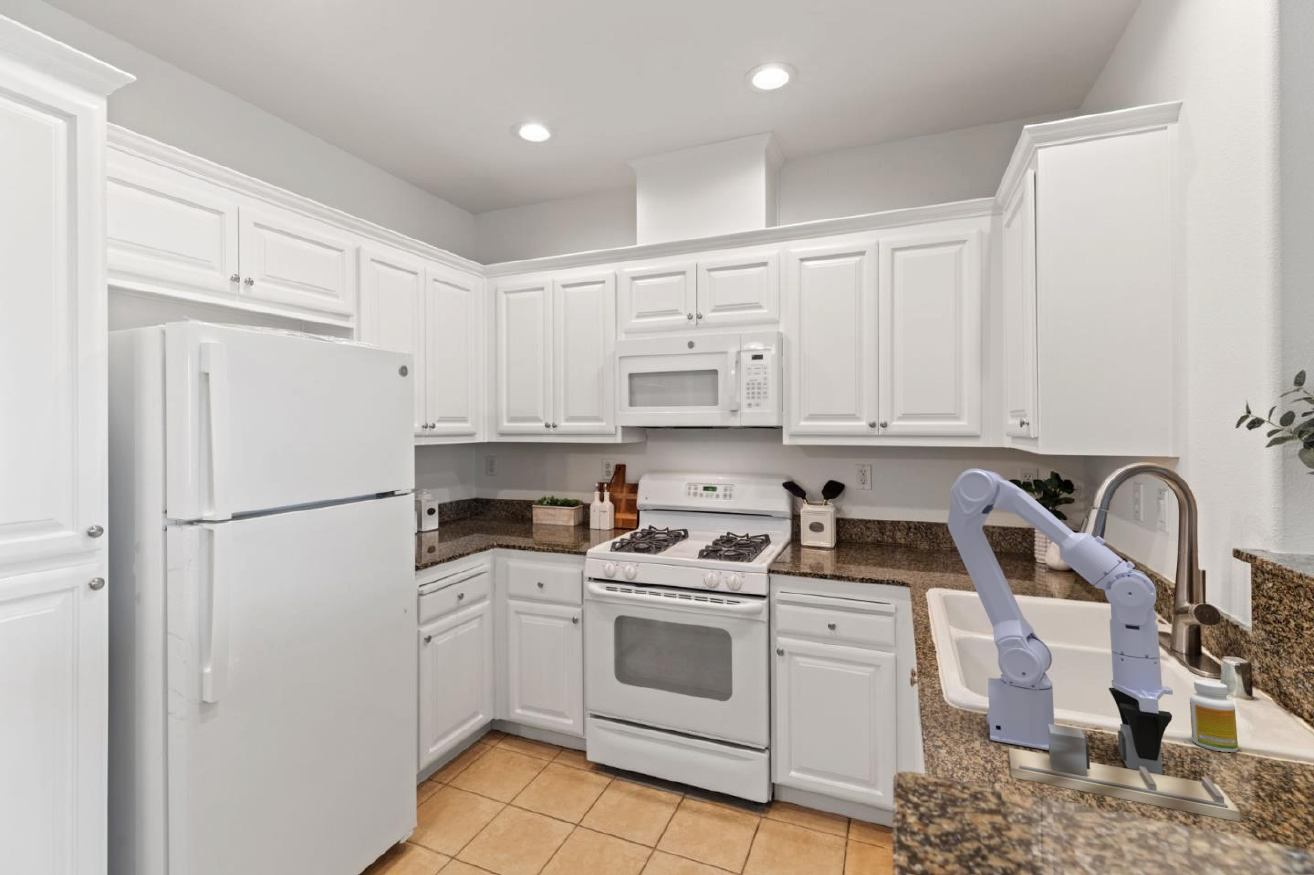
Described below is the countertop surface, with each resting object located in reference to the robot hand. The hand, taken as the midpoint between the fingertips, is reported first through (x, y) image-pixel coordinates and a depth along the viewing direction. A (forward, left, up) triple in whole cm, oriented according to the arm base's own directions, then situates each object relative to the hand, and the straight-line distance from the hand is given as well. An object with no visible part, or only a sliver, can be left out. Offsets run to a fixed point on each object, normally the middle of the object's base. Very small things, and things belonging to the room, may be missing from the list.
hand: (1141, 749), depth 90 cm
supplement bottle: (+12, +15, -3) cm, 19 cm away
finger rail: (-5, -10, -2) cm, 11 cm away
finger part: (0, 0, -2) cm, 2 cm away
